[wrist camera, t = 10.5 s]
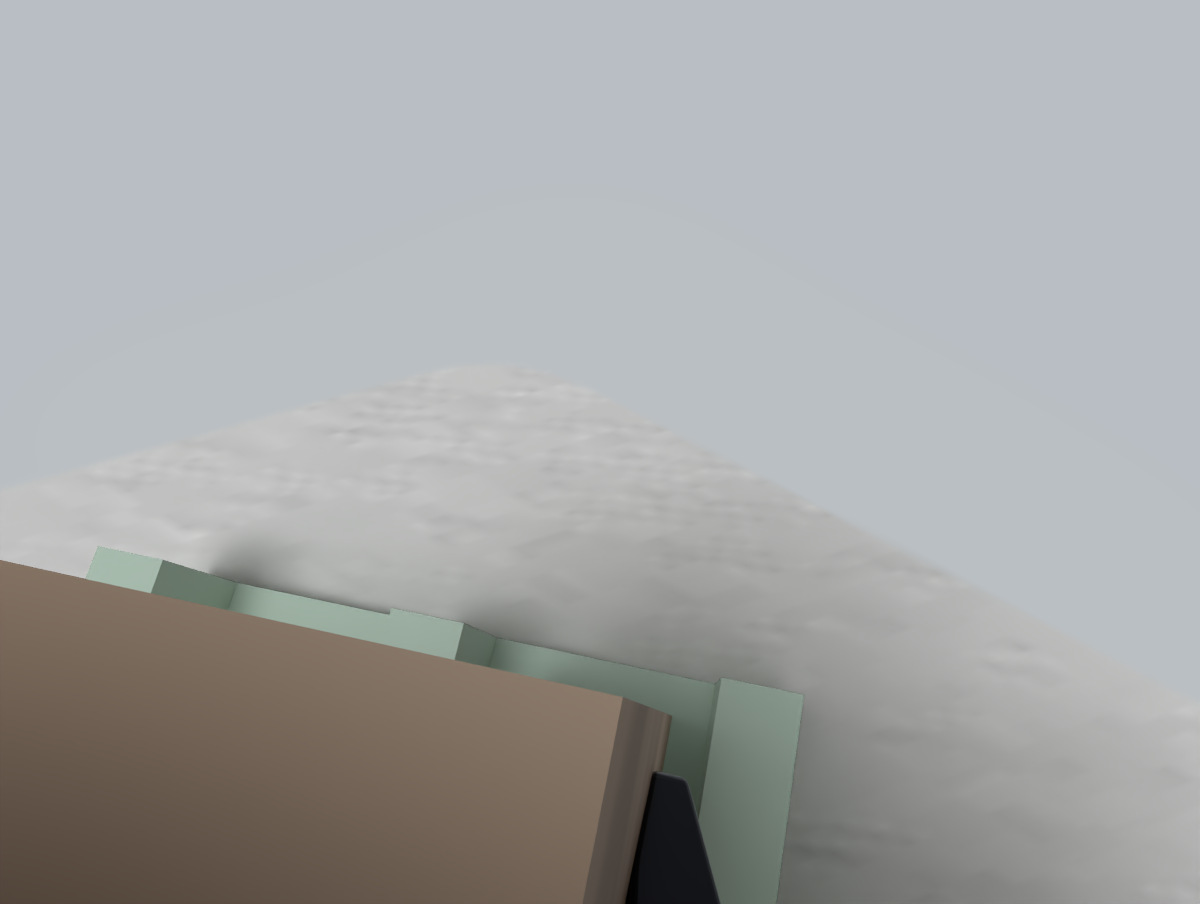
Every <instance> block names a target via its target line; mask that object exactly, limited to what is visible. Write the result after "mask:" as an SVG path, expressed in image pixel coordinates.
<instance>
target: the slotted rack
mask: <svg viewBox="0 0 1200 904" xmlns="http://www.w3.org/2000/svg"><path fill="white" fill-rule="evenodd" d="M86 579H88V580H93V581H97V582H102V583H106V584H111V585H115V586H120V587H125V588H129V589H134V590H138V591H143V592H147V593H152V594H156V595H161V596H166V597H170V598H175V599H179V600H184V601H188V602H193V603H197V604H202V605H207V606H211V607H216V608H220V609H225V610H229V611H234V612H238V613H243V614H247V615H252V616H257V617H261V618H266V619H270V620H275V621H279V622H284V623H288V624H293V625H298V626H302V627H307V628H311V629H316V630H320V631H325V632H329V633H334V634H339V635H343V636H348V637H352V638H357V639H361V640H366V641H370V642H375V643H380V644H384V645H389V646H393V647H398V648H402V649H407V650H411V651H416V652H420V653H425V654H430V655H434V656H439V657H443V658H448V659H452V660H457V661H461V662H466V663H471V664H475V665H480V666H484V667H489V668H493V669H498V670H502V671H507V672H512V673H516V674H521V675H525V676H530V677H534V678H539V679H543V680H548V681H553V682H557V683H562V684H566V685H571V686H575V687H580V688H584V689H589V690H593V691H598V692H603V693H607V694H612V695H616V696H621V697H624V698H627V699H630V700H632V701H635V702H638V703H640V704H643V705H645V706H648V707H651V708H653V709H656V710H659V711H661V712H664V713H667V714H669V715H672V720H671V726H670V732H669V737H668V743H667V748H666V754H665V760H664V765H663V771H662V772H664V773H668V774H672V775H677V776H681V777H683V778H685V779H686V780H687V782H688V784H689V787H690V791H691V794H692V798H693V802H694V806H695V809H696V813H697V817H698V820H699V824H700V828H701V832H702V835H703V839H704V843H705V846H706V850H707V854H708V858H709V861H710V865H711V869H712V873H713V876H714V880H715V884H716V887H717V891H718V895H719V899H720V902H721V904H776V901H777V894H778V886H779V879H780V871H781V864H782V856H783V849H784V841H785V834H786V826H787V819H788V811H789V804H790V796H791V789H792V781H793V774H794V766H795V759H796V752H797V744H798V737H799V729H800V722H801V714H802V707H803V699H804V695H803V694H799V693H794V692H789V691H784V690H779V689H775V688H770V687H765V686H760V685H756V684H751V683H746V682H741V681H737V680H732V679H727V678H721V679H720V680H719V681H718V682H717V683H716V684H713V683H708V682H704V681H699V680H694V679H690V678H685V677H680V676H675V675H671V674H666V673H661V672H656V671H652V670H647V669H642V668H638V667H633V666H628V665H623V664H619V663H614V662H609V661H604V660H600V659H595V658H590V657H586V656H581V655H576V654H571V653H567V652H562V651H557V650H553V649H548V648H543V647H538V646H534V645H529V644H524V643H519V642H515V641H510V640H505V639H501V638H496V637H494V636H492V635H490V634H487V633H485V632H483V631H480V630H478V629H476V628H474V627H471V626H469V625H467V624H465V623H461V622H456V621H451V620H446V619H442V618H437V617H432V616H427V615H423V614H418V613H413V612H408V611H404V610H399V609H394V608H391V610H390V614H389V615H387V614H382V613H378V612H373V611H368V610H364V609H359V608H354V607H349V606H345V605H340V604H335V603H330V602H326V601H321V600H316V599H312V598H307V597H302V596H297V595H293V594H288V593H283V592H278V591H274V590H269V589H264V588H260V587H255V586H250V585H245V584H241V583H236V582H233V581H230V580H227V579H223V578H220V577H217V576H214V575H210V574H207V573H204V572H201V571H197V570H194V569H191V568H188V567H184V566H181V565H178V564H175V563H171V562H168V561H165V560H161V559H156V558H152V557H147V556H142V555H137V554H132V553H128V552H123V551H118V550H113V549H109V548H104V547H99V546H98V548H97V551H96V553H95V556H94V558H93V561H92V564H91V566H90V569H89V571H88V574H87V576H86Z"/></svg>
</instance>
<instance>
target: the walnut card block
mask: <svg viewBox="0 0 1200 904" xmlns="http://www.w3.org/2000/svg"><path fill="white" fill-rule="evenodd" d="M671 720H672V715H669V714H667V713H664V712H661V711H659V710H656V709H653V708H651V707H648V706H645V705H643V704H640V703H638V702H635V701H632V700H630V699H627V698H624V697H621V696H616V695H612V694H607V693H603V692H598V691H593V690H589V689H584V688H580V687H575V686H571V685H566V684H562V683H557V682H553V681H548V680H543V679H539V678H534V677H530V676H525V675H521V674H516V673H512V672H507V671H502V670H498V669H493V668H489V667H484V666H480V665H475V664H471V663H466V662H461V661H457V660H452V659H448V658H443V657H439V656H434V655H430V654H425V653H420V652H416V651H411V650H407V649H402V648H398V647H393V646H389V645H384V644H380V643H375V642H370V641H366V640H361V639H357V638H352V637H348V636H343V635H339V634H334V633H329V632H325V631H320V630H316V629H311V628H307V627H302V626H298V625H293V624H288V623H284V622H279V621H275V620H270V619H266V618H261V617H257V616H252V615H247V614H243V613H238V612H234V611H229V610H225V609H220V608H216V607H211V606H207V605H202V604H197V603H193V602H188V601H184V600H179V599H175V598H170V597H166V596H161V595H156V594H152V593H147V592H143V591H138V590H134V589H129V588H125V587H120V586H115V585H111V584H106V583H102V582H97V581H93V580H88V579H84V578H79V577H74V576H70V575H65V574H61V573H56V572H52V571H47V570H43V569H38V568H33V567H29V566H24V565H20V564H15V563H11V562H6V561H2V560H0V904H626V901H627V894H628V888H629V882H630V877H631V872H632V867H633V862H634V857H635V853H636V848H637V843H638V838H639V834H640V829H641V824H642V820H643V815H644V810H645V806H646V801H647V796H648V791H649V787H650V782H651V777H652V773H653V772H655V771H659V772H662V771H663V765H664V760H665V754H666V748H667V743H668V737H669V732H670V726H671Z"/></svg>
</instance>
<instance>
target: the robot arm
mask: <svg viewBox="0 0 1200 904" xmlns="http://www.w3.org/2000/svg"><path fill="white" fill-rule="evenodd" d="M626 904H721V902H720V899H719V895H718V891H717V887H716V884H715V880H714V876H713V873H712V869H711V865H710V861H709V858H708V854H707V850H706V846H705V843H704V839H703V835H702V832H701V828H700V824H699V820H698V817H697V813H696V809H695V806H694V802H693V798H692V794H691V791H690V787H689V784H688V782H687V780H686V779H685V778H683V777H681V776H677V775H672V774H668V773H664V772H659V771H655V772H653V773H652V777H651V782H650V787H649V791H648V796H647V801H646V806H645V810H644V815H643V820H642V824H641V829H640V834H639V838H638V843H637V848H636V853H635V857H634V862H633V867H632V872H631V877H630V882H629V888H628V894H627V901H626Z"/></svg>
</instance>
